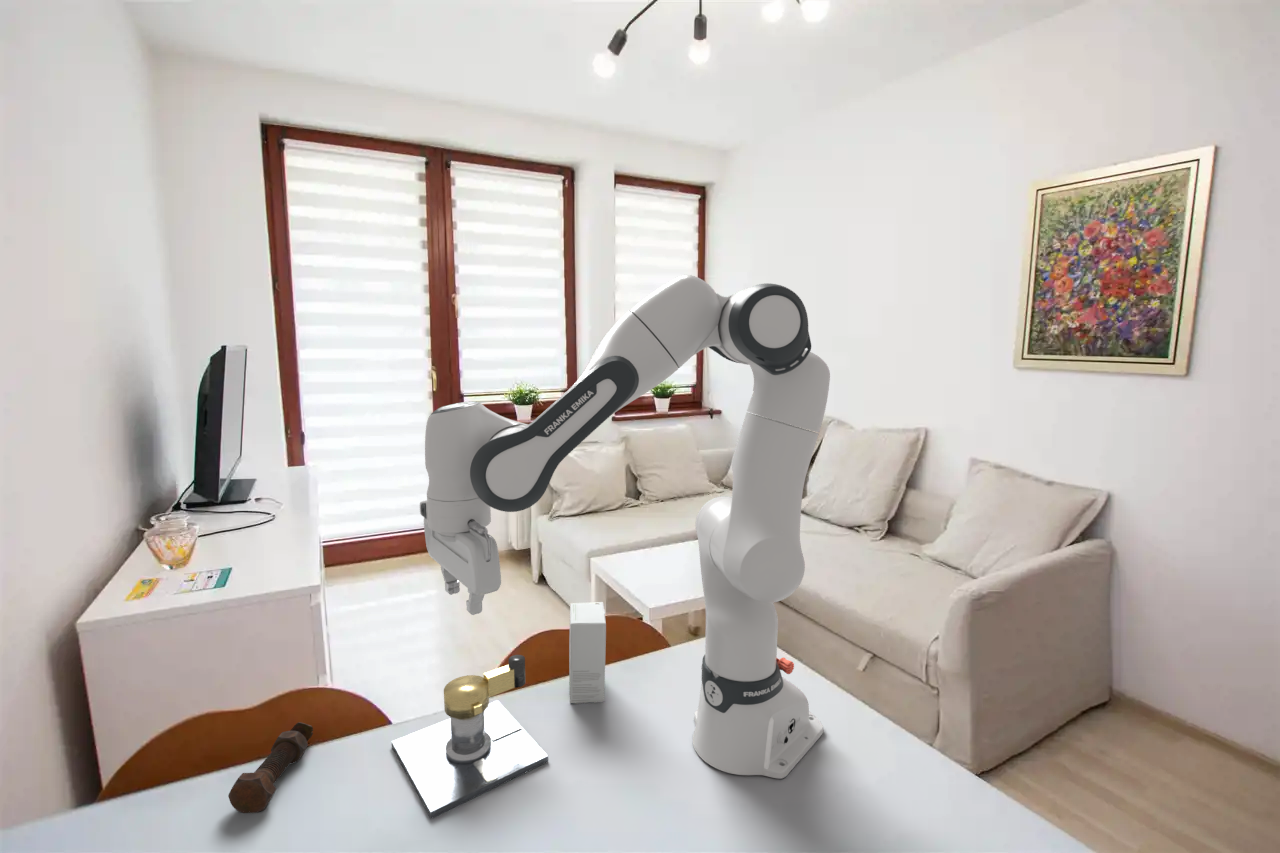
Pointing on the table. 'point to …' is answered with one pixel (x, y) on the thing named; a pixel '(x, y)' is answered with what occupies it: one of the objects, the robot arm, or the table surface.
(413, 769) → the slotted metal plate
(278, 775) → the bolt
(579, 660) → the skincare box
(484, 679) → the brass faucet handle
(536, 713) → the table surface
